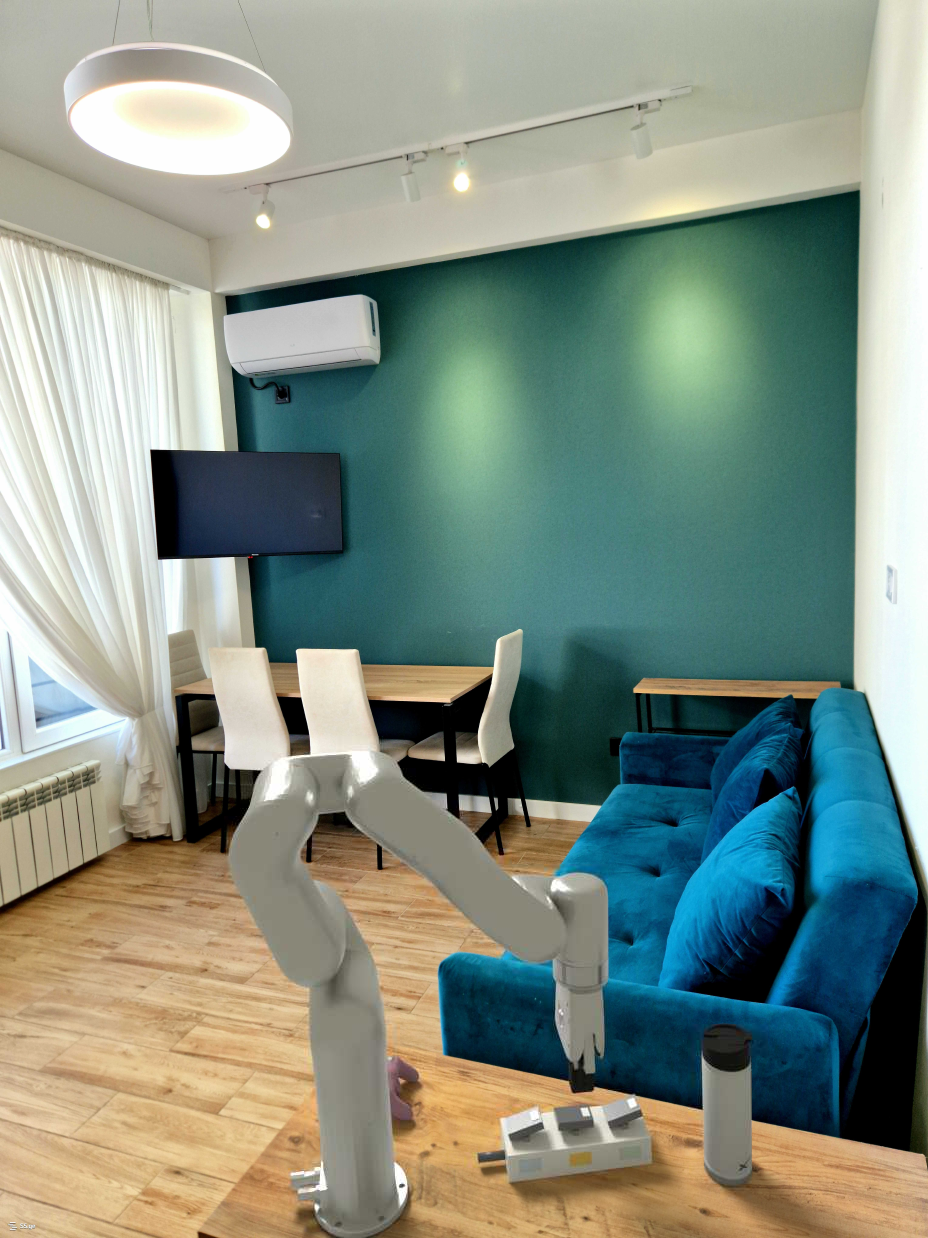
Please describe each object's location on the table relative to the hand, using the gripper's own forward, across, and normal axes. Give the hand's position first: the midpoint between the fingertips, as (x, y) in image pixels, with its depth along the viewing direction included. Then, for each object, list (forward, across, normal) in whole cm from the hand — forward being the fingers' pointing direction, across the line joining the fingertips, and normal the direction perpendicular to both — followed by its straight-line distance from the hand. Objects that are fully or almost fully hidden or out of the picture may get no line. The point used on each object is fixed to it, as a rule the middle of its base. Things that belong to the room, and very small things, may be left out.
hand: (581, 1088), depth 114 cm
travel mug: (+10, +6, +19) cm, 22 cm away
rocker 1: (+5, 0, -8) cm, 9 cm away
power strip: (+10, 0, -3) cm, 10 cm away
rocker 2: (+4, 0, +6) cm, 7 cm away
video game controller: (+11, -15, -26) cm, 32 cm away
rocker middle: (+4, 0, -1) cm, 5 cm away
